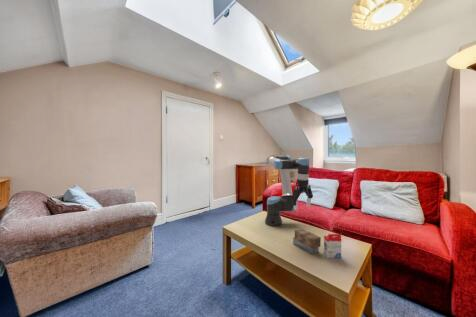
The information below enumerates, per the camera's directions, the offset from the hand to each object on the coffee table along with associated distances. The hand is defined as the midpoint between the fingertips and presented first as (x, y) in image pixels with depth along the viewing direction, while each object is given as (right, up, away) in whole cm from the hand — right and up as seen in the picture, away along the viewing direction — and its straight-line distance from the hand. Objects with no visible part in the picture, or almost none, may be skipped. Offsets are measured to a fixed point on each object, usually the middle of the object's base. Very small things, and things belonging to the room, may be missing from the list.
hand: (302, 208), depth 131 cm
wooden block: (-1, -20, -12) cm, 23 cm away
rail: (-2, -24, -11) cm, 26 cm away
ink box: (+12, -24, -20) cm, 33 cm away
